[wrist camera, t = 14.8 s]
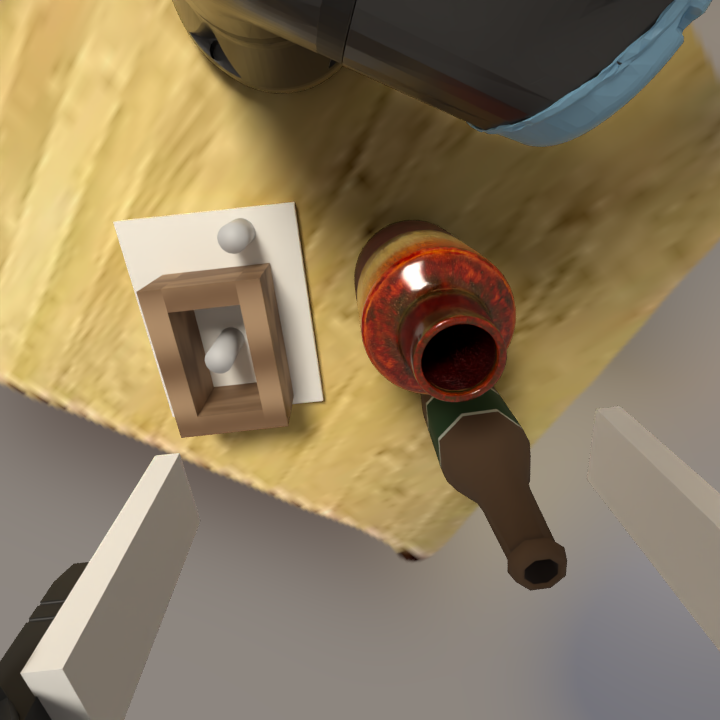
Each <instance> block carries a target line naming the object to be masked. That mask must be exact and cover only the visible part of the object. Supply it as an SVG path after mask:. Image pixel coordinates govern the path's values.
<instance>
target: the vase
mask: <svg viewBox="0 0 720 720" xmlns="http://www.w3.org/2000/svg"><path fill="white" fill-rule="evenodd" d="M355 291H356V299H357V307H358V314H359V322H360V328H361V335H362V341H363V344H364V347H365V350H366V353H367V355H368V357H369V359H370V361H371V362H372V364H373V365H374V366H375V368H376V369H377V370H378V372H379V373H381V374H382V375H383V376H384V377H385V378H386V379H387V380H389V381H390V382H392V383H393V384H395V385H396V386H398V387H401V388H403V389H405V390H408V391H411V392H415V393H420V394H428V395H431V396H432V397H434V398H436V399H439V400H442V401H446V402H464V401H468V400H472V399H474V398H477V397H479V396H481V395H482V394H484V393H486V392H487V391H488V390H490V389H491V388H492V387H493V386H494V385H495V384H496V383H497V381H498V380H499V378H500V377H501V375H502V373H503V371H504V368H505V365H506V360H507V349H508V347H509V345H510V343H511V340H512V337H513V334H514V329H515V323H516V307H515V301H514V296H513V293H512V291H511V288H510V285H509V284H508V282H507V280H506V279H505V277H504V275H503V274H502V273H501V272H500V270H499V269H498V268H497V267H496V266H495V265H494V264H493V263H491V262H490V261H489V260H488V259H487V258H485V257H484V256H482V255H481V254H480V253H478V252H477V251H475V250H474V249H472V248H471V247H469V246H468V245H466V244H465V243H463V242H462V241H460V240H459V239H457V238H456V237H454V236H453V235H451V234H450V233H448V232H447V231H445V230H444V229H442V228H440V227H438V226H437V225H435V224H432V223H429V222H426V221H420V220H406V221H400V222H397V223H394V224H391V225H389V226H387V227H385V228H383V229H381V230H380V231H379V232H377V233H376V234H375V235H374V236H373V237H372V238H371V239H370V240H369V241H368V242H367V243H366V245H365V246H364V248H363V249H362V251H361V253H360V255H359V257H358V260H357V263H356V268H355Z"/></svg>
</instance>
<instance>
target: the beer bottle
mask: <svg viewBox="0 0 720 720" xmlns="http://www.w3.org/2000/svg"><path fill="white" fill-rule="evenodd" d="M421 399H422V409H423V414H424V418H425V421H426V424H427V427H428V430H429V433H430V436H431V439H432V442H433V445H434V448H435V451H436V454H437V457H438V460H439V463H440V466H441V469H442V471H443V474H444V476H445V478H446V480H447V482H448V483H449V484H451V485H452V486H453V487H454V488H455V489H456V490H457V491H458V492H460V493H462V494H463V495H465V496H466V497H468V498H470V499H471V500H473V501H474V502H476V503H477V504H478V505H479V506H480V508H481V509H482V510H483V512H484V513H485V516H486V518H487V520H488V522H489V524H490V526H491V528H492V530H493V532H494V534H495V536H496V538H497V540H498V542H499V543H500V546H501V548H502V549H503V552H504V553H505V555H506V557H507V559H508V573H509V574H510V575H511V577H512V578H513V579H514V580H515V581H516V582H517V583H519V584H520V585H522V586H524V587H525V588H527V589H529V590H537V589H544V588H551V587H552V586H553V585H555V584H556V583H557V582H558V581H560V580H561V579H562V578H563V577H565V576H566V567H567V558H566V553H565V549H564V547H562V546H561V545H559V544H558V543H556V542H555V540H554V538H553V536H552V534H551V532H550V530H549V528H548V526H547V524H546V521H545V520H544V517H543V515H542V513H541V511H540V509H539V507H538V505H537V503H536V500H535V498H534V496H533V494H532V492H531V490H530V487H529V482H530V457H531V456H530V443H529V440H528V438H527V436H526V434H525V432H524V430H523V429H522V427H521V426H520V424H519V423H518V421H517V420H516V418H515V417H514V415H513V414H512V413H511V411H510V410H509V408H508V407H507V405H506V404H505V402H504V401H503V399H502V398H501V396H500V395H499V393H498V392H497V390H496V389H495V388H494V386H493V387H492V388H491V389H490V390H488V391H487V392H486V393H484V394H482V395H481V396H479V397H477V398H474V399H472V400H468V401H464V402H446V401H442V400H439V399H436V398H434V397H432V396H431V395H428V394H421Z"/></svg>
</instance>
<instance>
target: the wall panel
mask: <svg viewBox="0 0 720 720" xmlns="http://www.w3.org/2000/svg"><path fill="white" fill-rule="evenodd" d="M113 223H114V226H115V230H116V233H117V236H118V239H119V243H120V246H121V249H122V252H123V256H124V259H125V262H126V265H127V269H128V272H129V275H130V279H131V282H132V285H133V288H134V292H135V295H136V298H137V301H138V305H139V308H140V311H141V314H142V318H143V321H144V324H145V328H146V331H147V334H148V337H149V341H150V344H151V347H152V350H153V354H154V357H155V360H156V363H157V367H158V370H159V373H160V376H161V380H162V383H163V386H164V390H165V393H166V396H167V399H168V403H169V406H170V409H171V412H172V416H173V417H175V416H174V412H173V409H172V406H171V403H170V400H169V396H168V393H167V390H166V387H165V383H164V380H163V377H162V374H161V370H160V367H159V364H158V361H157V358H156V354H155V351H154V348H153V345H152V341H151V338H150V335H149V332H148V328H147V325H146V322H145V319H144V316H143V312H142V309H141V306H140V303H139V299H138V296H137V293H136V292H137V291H139V290H140V289H142V288H143V287H145V286H146V285H148V284H149V283H151V282H152V281H154V280H155V279H157V278H158V277H160V276H161V275H165V274H174V273H183V272H192V271H201V270H210V269H219V268H228V267H237V266H246V265H255V264H264V263H270V267H271V273H272V278H273V284H274V289H275V295H276V300H277V305H278V311H279V316H280V322H281V327H282V333H283V338H284V344H285V349H286V355H287V360H288V366H289V371H290V377H291V382H292V388H293V393H294V398H293V403H292V404H298V403H307V402H317V401H323V390H322V384H321V377H320V370H319V363H318V357H317V350H316V343H315V336H314V330H313V323H312V316H311V309H310V303H309V296H308V289H307V283H306V276H305V269H304V262H303V256H302V249H301V242H300V235H299V229H298V222H297V215H296V208H295V202H287V203H278V204H269V205H259V206H250V207H241V208H231V209H222V210H213V211H203V212H194V213H185V214H176V215H166V216H157V217H148V218H138V219H129V220H120V221H115V222H113ZM194 313H195V317H196V320H197V324H198V328H199V332H200V336H201V340H202V343H203V347H204V351H205V355H206V356H205V364H206V366H207V368H208V369H209V370H210V374H211V378H212V382H213V386H214V387H219V386H228V385H237V384H246V383H255V382H257V381H256V377H255V372H254V367H253V363H252V358H251V354H250V349H249V344H248V340H247V335H246V331H245V326H244V321H243V317H242V312H241V308H240V305H233V306H224V307H215V308H206V309H197V310H194Z"/></svg>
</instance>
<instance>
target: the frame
mask: <svg viewBox="0 0 720 720" xmlns="http://www.w3.org/2000/svg"><path fill="white" fill-rule="evenodd" d="M136 293H137V296H138V299H139V303H140V306H141V309H142V312H143V316H144V319H145V322H146V325H147V328H148V332H149V335H150V338H151V341H152V345H153V348H154V351H155V354H156V358H157V361H158V364H159V367H160V370H161V374H162V377H163V380H164V383H165V387H166V390H167V393H168V396H169V400H170V403H171V406H172V409H173V412H174V416H175V419H176V422H177V425H178V429H179V432H180V435H181V438H184V437H194V436H203V435H212V434H221V433H230V432H239V431H248V430H257V429H266V428H275V427H284V426H288V424H289V419H290V414H291V408H292V403H293V398H294V393H293V388H292V382H291V377H290V371H289V366H288V360H287V355H286V349H285V344H284V338H283V333H282V327H281V322H280V316H279V311H278V305H277V300H276V295H275V289H274V284H273V278H272V273H271V267H270V263H264V264H255V265H246V266H237V267H228V268H219V269H210V270H201V271H192V272H183V273H174V274H165V275H161V276H160V277H158V278H157V279H155V280H154V281H152V282H151V283H149V284H148V285H146V286H145V287H143V288H142V289H140V290H139V291H137V292H136ZM233 305H240V308H241V312H242V317H243V321H244V326H245V331H246V335H247V340H248V344H249V349H250V354H251V358H252V363H253V367H254V372H255V377H256V381H257V382H255V383H246V384H237V385H228V386H219V387H214V386H213V382H212V378H211V374H210V370H209V369H208V368H207V366H206V364H205V356H206V355H205V351H204V347H203V343H202V340H201V336H200V332H199V328H198V324H197V320H196V317H195V313H194V310H197V309H206V308H215V307H224V306H233Z"/></svg>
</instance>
